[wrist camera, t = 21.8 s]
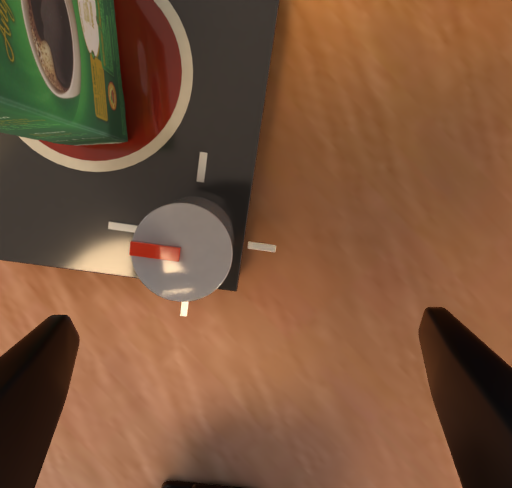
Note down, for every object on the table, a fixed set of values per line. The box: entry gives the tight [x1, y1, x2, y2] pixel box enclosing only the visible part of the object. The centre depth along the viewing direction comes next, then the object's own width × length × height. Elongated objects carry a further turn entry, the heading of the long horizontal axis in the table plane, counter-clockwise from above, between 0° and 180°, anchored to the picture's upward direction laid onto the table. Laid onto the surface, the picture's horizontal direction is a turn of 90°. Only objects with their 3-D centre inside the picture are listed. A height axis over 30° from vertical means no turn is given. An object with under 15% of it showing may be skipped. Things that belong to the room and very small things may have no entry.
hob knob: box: [129, 196, 234, 302], centre depth 18 cm, size 4×4×4 cm
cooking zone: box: [19, 0, 193, 172], centre depth 18 cm, size 9×9×1 cm
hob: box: [0, 0, 280, 317], centre depth 20 cm, size 17×15×3 cm
